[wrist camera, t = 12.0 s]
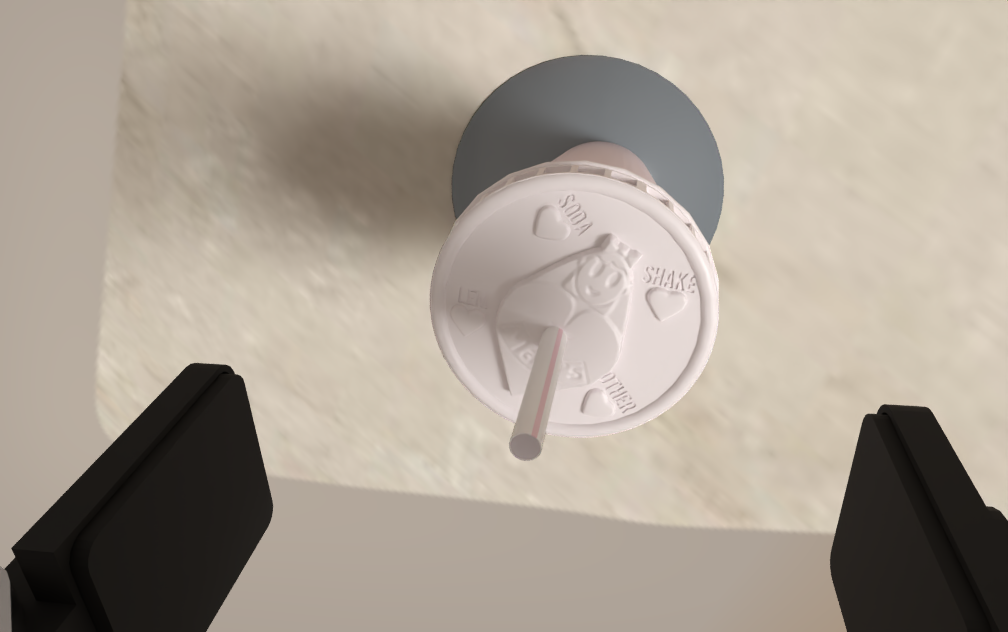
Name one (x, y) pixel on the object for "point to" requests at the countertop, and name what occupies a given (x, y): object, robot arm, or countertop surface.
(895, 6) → the countertop surface
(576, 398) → the smoothie
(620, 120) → the grey pebble
